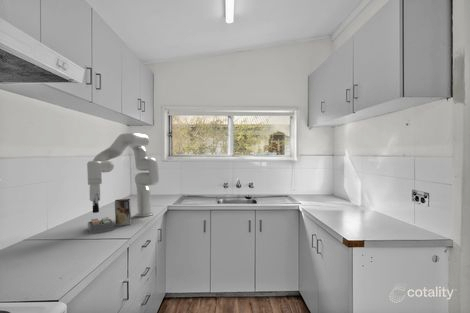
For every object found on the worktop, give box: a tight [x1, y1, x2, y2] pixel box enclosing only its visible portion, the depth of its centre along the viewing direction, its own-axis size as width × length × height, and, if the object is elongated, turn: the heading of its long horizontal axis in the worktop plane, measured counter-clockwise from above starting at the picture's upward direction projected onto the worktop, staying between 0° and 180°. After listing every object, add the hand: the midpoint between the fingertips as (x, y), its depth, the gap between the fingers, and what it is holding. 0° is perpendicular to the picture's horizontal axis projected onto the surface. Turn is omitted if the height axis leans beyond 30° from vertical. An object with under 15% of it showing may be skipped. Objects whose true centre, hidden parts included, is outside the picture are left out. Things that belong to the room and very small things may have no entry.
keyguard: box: [87, 218, 115, 234], centre depth 190 cm, size 13×13×4 cm
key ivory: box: [101, 216, 110, 222], centre depth 194 cm, size 4×4×4 cm
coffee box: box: [114, 198, 132, 227], centre depth 203 cm, size 9×6×16 cm
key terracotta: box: [92, 219, 100, 225], centre depth 186 cm, size 4×4×4 cm
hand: (95, 212), depth 186 cm, fingers closed
